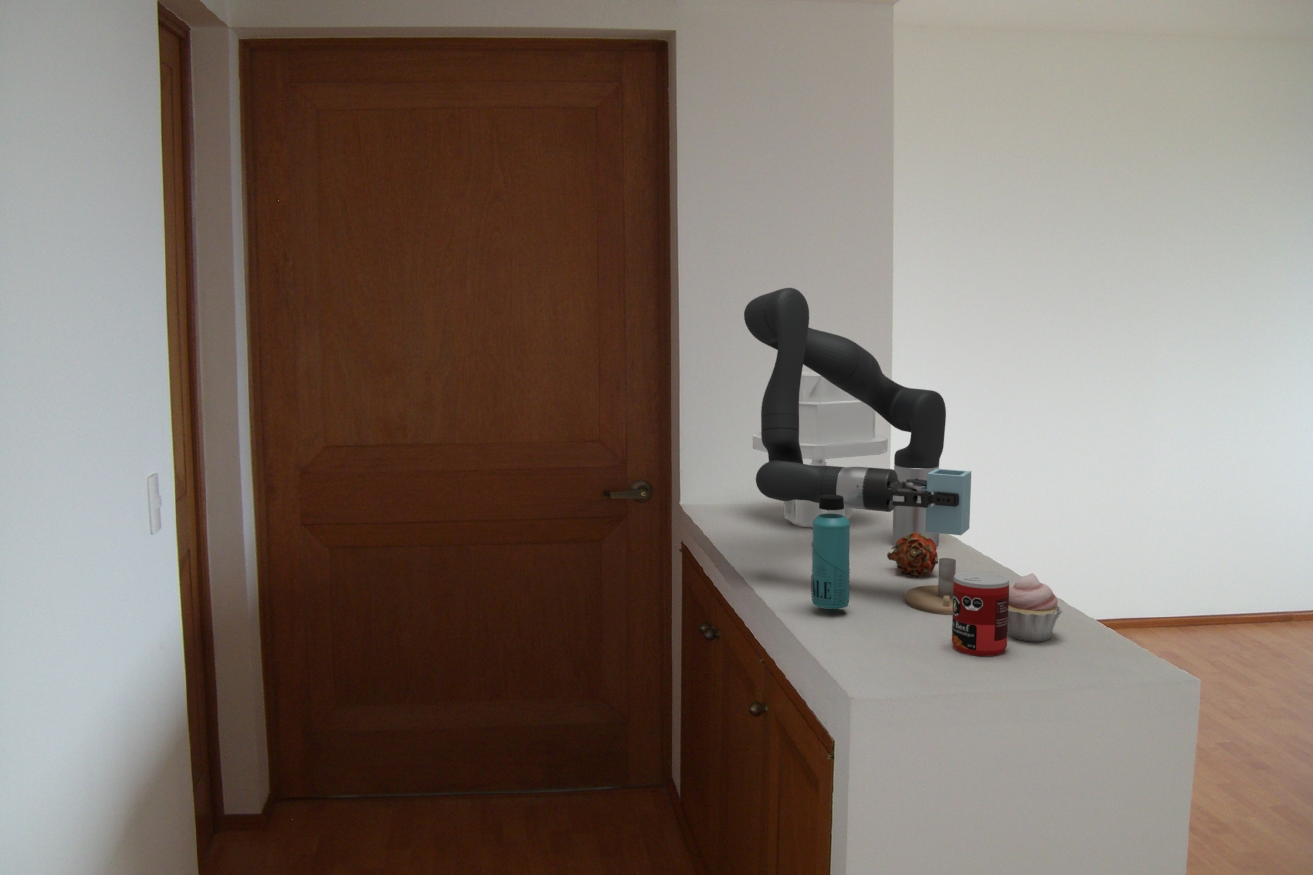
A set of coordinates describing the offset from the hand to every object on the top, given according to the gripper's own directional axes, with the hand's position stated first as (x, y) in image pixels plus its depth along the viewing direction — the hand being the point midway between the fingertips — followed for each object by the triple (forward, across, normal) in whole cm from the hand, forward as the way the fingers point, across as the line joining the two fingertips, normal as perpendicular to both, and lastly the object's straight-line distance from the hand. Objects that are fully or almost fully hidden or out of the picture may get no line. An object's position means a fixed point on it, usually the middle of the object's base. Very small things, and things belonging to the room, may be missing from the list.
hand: (963, 496), depth 181 cm
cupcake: (+14, -12, +19) cm, 26 cm away
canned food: (+8, -22, +19) cm, 30 cm away
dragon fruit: (-13, +18, +19) cm, 29 cm away
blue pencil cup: (-2, 0, +6) cm, 6 cm away
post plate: (-2, 0, +19) cm, 19 cm away
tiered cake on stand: (-45, +53, +19) cm, 72 cm away
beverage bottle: (-18, -14, +19) cm, 30 cm away
